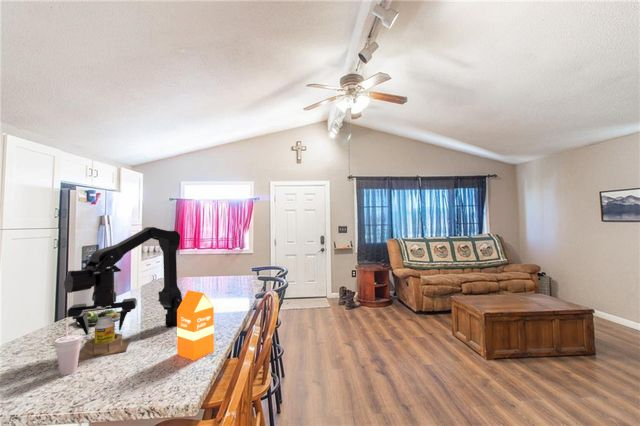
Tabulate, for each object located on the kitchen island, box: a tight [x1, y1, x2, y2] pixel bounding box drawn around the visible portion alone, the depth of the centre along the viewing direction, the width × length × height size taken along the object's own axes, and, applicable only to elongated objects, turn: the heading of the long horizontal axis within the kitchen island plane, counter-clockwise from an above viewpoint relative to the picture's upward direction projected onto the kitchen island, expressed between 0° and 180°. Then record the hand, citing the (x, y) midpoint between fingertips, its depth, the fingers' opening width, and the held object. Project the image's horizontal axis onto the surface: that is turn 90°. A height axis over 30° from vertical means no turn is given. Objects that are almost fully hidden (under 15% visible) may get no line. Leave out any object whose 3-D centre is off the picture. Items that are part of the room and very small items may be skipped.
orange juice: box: [176, 289, 215, 361], centre depth 98 cm, size 8×9×20 cm
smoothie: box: [53, 322, 84, 376], centre depth 86 cm, size 6×6×14 cm
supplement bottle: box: [94, 316, 116, 344], centre depth 101 cm, size 6×6×10 cm
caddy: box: [78, 333, 132, 361], centre depth 101 cm, size 14×12×4 cm
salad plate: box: [75, 309, 121, 328], centre depth 134 cm, size 19×18×5 cm
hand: (104, 332), depth 101 cm, fingers open, 9 cm apart
